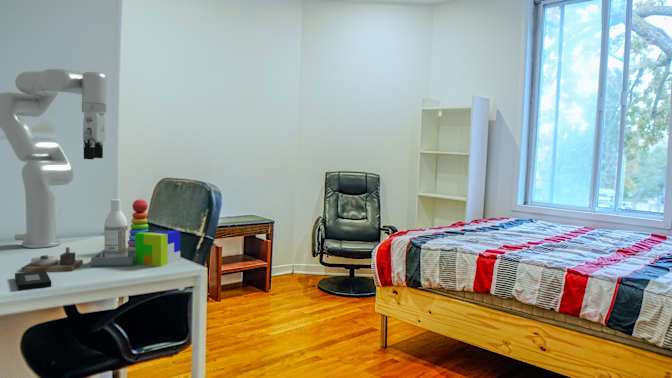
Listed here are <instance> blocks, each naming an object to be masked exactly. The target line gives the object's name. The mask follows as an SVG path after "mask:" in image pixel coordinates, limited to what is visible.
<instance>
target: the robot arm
mask: <svg viewBox="0 0 672 378" xmlns="http://www.w3.org/2000/svg"><path fill="white" fill-rule="evenodd" d="M14 83H15V86H16V88H17V89H18V90H19V91H20V92H21V93H20V92H19V93H18V92H7V91H6V92H5V91H4V92H0V129H1V130H2V132H3V133H4V135H5V137H6V139H7V141H8V143H9V144H10V146H11V148H12V151H13V153H14V154H15V156H16V158H17V159H18V160H19V161H20V162H23V163H25V164H24V165H23V166H22V169H21V177H22V182H23V185H24V193H25V196H24V197H25V223H26V225H25V227H26V228H25V230H26V232H25V233H23V234H21V233H20V234H17V233H16V234H15V235H14V239H15V240H16V241H23V242H21V247H23V248H27V249H28V248H29V249H39V248H41V249H42V248H50V247H55V246H60V245H61V240H60V239H57V238H56V237H57V232H56V228H57V227H56V221H57V220H56V198H55V194H54V192H53V191H52V188H50V187H51V186H52V187H54V186H63V185H68V184H69V183H71V182H72V181H73V178H74V170H73V166H72V164H71V162H70V161H69V159H68V157H67V155H66V153H65V151H64V150H63V147H62V146H61V144H60V143H59V142H58V141H57V140H55V139H53V138H50V137H38V136H36V135H35V134H34V132H33V131H32V129H31V127H30V126H29V125H28V123H27V122H26V121H24V120H23V119H21V118H20V117H21V116H22V117H32V118H35V117H40V116H42V115H43V114H45V112H46V111H47V110H48V108H49V107H50V106H51V104H52V103H53V102H54V100H55V99H56V97H57V96H58V94H59V92H60V93H69V94H76V95H77V94H78V95H81V113H83V122H82V124H83V125H82V139H83V140H82V141H83V159H84V160H94V159H103V158H104V156H103V154H104V142H106V139H107V138H106V137H107V136H106V133H107V131H106V117H105V115H106V114H107V76H106V74H104V73H102V72H96V71H84V72H82V71H81V72H80V71H77V70H76V71H75V70H70V69H69V70H68V69H63V68H61V69H60V68H52V69H51V68H49V69H47V68H46V69H44V70H43V71H42V70H39V71H38V70H36V71H35V70H33V71H31V70H30V71H24V72H20V73H19V74H18V75H17V76H16V78H15V80H14ZM19 116H20V117H19Z"/></svg>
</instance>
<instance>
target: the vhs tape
mask: <svg viewBox="0 0 672 378" xmlns="http://www.w3.org/2000/svg"><path fill="white" fill-rule="evenodd" d="M47 272H48V271H46V270H42V271H32V272H22V271H21V272H16V273H15V272H14V280H15V282H16V283H15V284H16V286H17V290H18V291H19V292H21V291H29V290H36V289H44V288H46V289H47V288H52V280H51V278H50V276H49V274H48V273H47Z"/></svg>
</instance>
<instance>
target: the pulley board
mask: <svg viewBox="0 0 672 378" xmlns="http://www.w3.org/2000/svg"><path fill="white" fill-rule="evenodd" d="M83 261H84V260H83V259H76V252H71V251H70V247H69V246H67V247H65V252H63V253H61V254H60V255H59V259H58V256H53V255H48V254H47V255H41V256H37V257H34V258H31V259H30V263H27V264H26V265H24V266H22V267H21V269H20V270H21V273H22V272H32V271H42V270H46V272H73V271H75V270H76V269H77V268H79V267H80V266H81V265H83Z"/></svg>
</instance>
